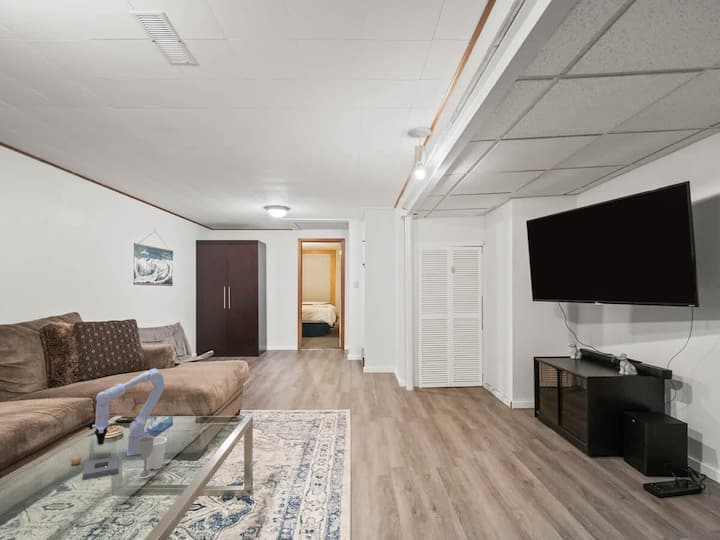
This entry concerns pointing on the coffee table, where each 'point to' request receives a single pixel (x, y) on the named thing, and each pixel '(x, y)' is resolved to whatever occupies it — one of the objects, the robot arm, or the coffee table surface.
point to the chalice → (145, 451)
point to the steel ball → (100, 444)
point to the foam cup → (157, 453)
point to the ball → (76, 460)
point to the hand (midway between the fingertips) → (100, 442)
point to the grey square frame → (100, 467)
